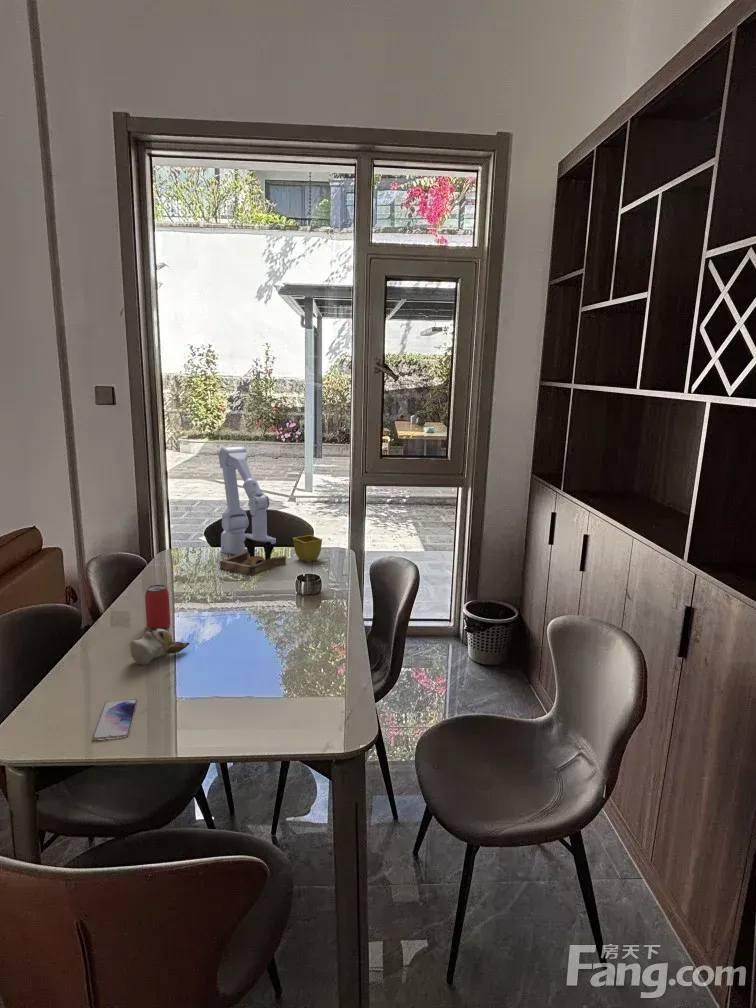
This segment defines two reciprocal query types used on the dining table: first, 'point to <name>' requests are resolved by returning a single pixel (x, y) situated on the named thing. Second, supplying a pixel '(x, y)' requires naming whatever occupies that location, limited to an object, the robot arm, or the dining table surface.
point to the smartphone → (115, 719)
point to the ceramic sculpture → (154, 646)
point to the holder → (235, 565)
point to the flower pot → (307, 547)
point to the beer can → (157, 607)
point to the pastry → (255, 560)
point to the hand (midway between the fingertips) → (260, 558)
